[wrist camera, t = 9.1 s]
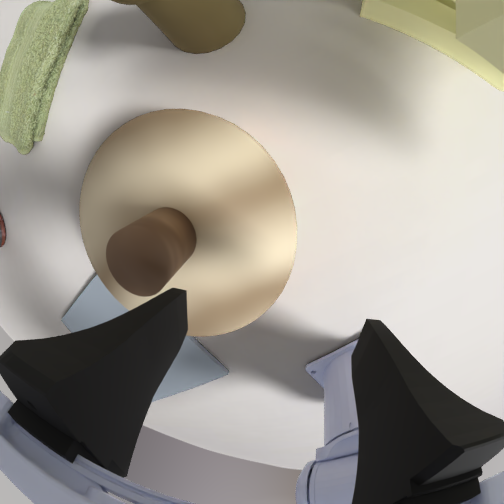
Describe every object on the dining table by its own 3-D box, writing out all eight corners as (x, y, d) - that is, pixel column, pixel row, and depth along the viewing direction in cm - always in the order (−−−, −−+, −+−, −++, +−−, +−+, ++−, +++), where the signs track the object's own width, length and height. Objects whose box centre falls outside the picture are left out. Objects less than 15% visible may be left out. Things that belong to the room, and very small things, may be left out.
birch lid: (343, 269, 16) (357, 315, 12) (172, 352, 21) (148, 394, 17) (196, 60, 12) (157, 35, 8) (60, 207, 18) (16, 227, 13)
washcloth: (-2, 129, 21) (-20, 132, 18) (42, 4, 13) (24, 0, 10) (43, 156, 21) (21, 161, 18) (104, -2, 14) (84, -12, 11)
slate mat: (229, 371, 26) (228, 374, 26) (146, 401, 32) (145, 403, 32) (116, 252, 23) (113, 254, 23) (63, 318, 29) (61, 320, 28)
